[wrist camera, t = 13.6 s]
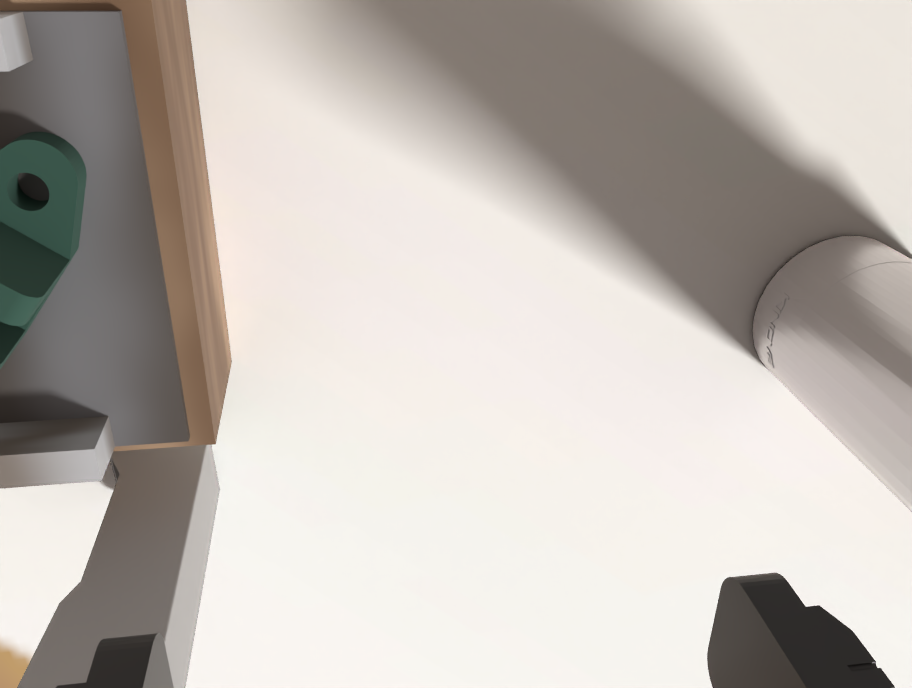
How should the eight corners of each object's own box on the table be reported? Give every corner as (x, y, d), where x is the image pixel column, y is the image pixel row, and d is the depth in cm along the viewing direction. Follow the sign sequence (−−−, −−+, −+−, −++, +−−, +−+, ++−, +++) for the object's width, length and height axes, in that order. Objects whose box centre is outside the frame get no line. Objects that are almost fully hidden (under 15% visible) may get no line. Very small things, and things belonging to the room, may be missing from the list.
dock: (183, -20, 34) (134, 1, 25) (231, 361, 42) (207, 482, 33) (-187, -22, 32) (-388, 0, 23) (-61, 378, 40) (-172, 512, 31)
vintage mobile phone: (112, 439, 43) (-100, 971, 21) (210, 429, 44) (101, 937, 22) (127, 496, 45) (-55, 1043, 23) (220, 486, 46) (130, 1010, 24)
